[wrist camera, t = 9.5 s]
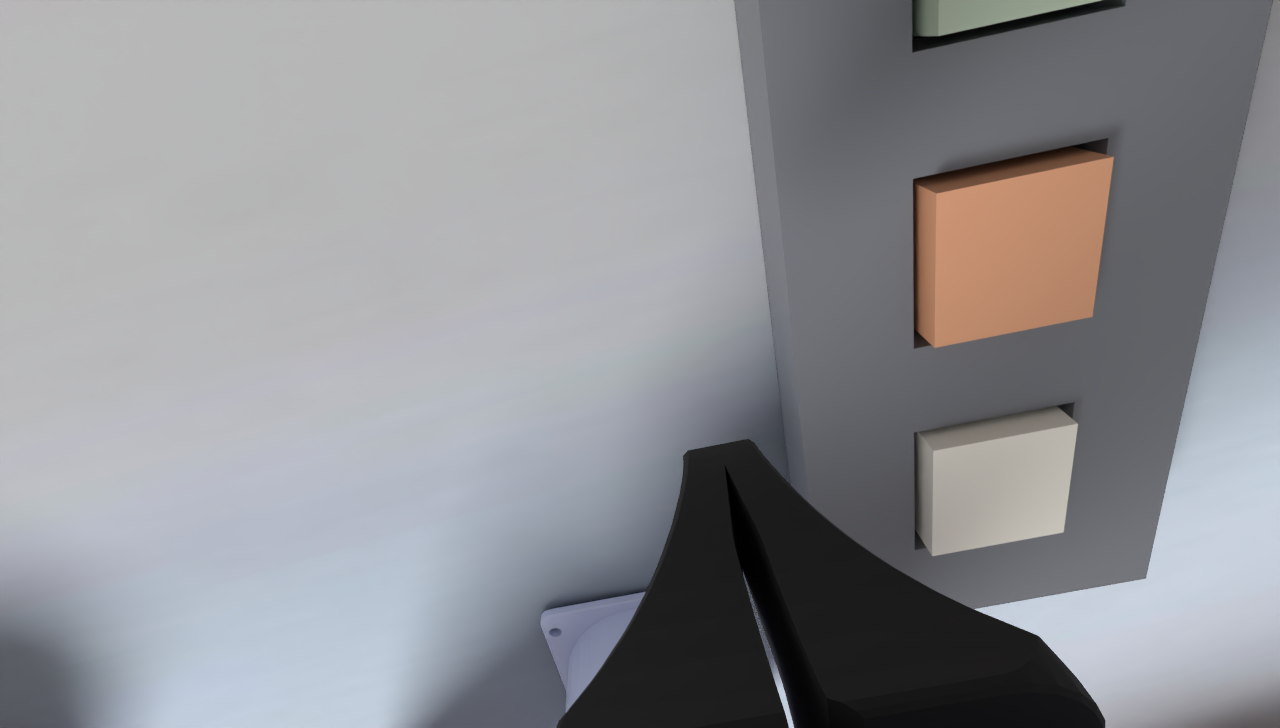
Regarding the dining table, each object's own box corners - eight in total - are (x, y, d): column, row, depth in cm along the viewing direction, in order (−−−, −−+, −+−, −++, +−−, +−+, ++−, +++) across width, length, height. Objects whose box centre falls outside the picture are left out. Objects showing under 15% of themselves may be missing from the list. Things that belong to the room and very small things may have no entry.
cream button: (1010, 474, 25) (1063, 532, 22) (894, 496, 25) (932, 556, 22) (1018, 374, 23) (1078, 423, 20) (892, 399, 23) (933, 451, 20)
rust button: (1025, 278, 21) (1092, 316, 18) (890, 305, 21) (934, 347, 18) (1037, 138, 19) (1113, 156, 16) (887, 170, 19) (936, 193, 16)
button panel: (1091, 523, 26) (1145, 578, 24) (800, 576, 27) (822, 635, 24) (1248, -471, 14) (1403, -593, 11) (695, -333, 14) (716, -416, 12)
